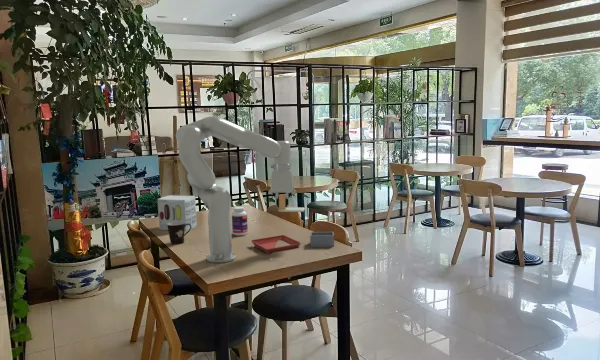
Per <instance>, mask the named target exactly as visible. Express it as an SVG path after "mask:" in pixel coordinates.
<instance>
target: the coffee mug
mask: <svg viewBox="0 0 600 360" xmlns="http://www.w3.org/2000/svg"><path fill="white" fill-rule="evenodd" d="M186 225H190V224H185V222H171V223H168V224H167V226H168V230H167V231H168V236H169V240H170V245H173V246H175V245H177V246H178V245H182V244H184V243H185V236H186V235H187V234H189V232H191V230H192V229H191V225H190V229H189V230H188V231H185V226H186Z"/></svg>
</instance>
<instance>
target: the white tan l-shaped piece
mask: <svg viewBox="0 0 600 360" xmlns="http://www.w3.org/2000/svg"><path fill="white" fill-rule="evenodd" d="M285 199H286V193H284V194H280V193H279V207H278V212H282V213H283V212H285V213H292V212H293V213H304V212H305V209H306V208H305V207H303V206H302V207H300V206H299V207H298V206H297V207H294V206H292V207H291V206H290V207H288V206H287V207H285Z"/></svg>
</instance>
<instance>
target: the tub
mask: <svg viewBox="0 0 600 360" xmlns="http://www.w3.org/2000/svg"><path fill="white" fill-rule="evenodd" d="M309 236H310V237H309V239H310V241H309V243H310V248H315V247H316V248H320V247H321V248H326V247H329V248H330V247H333V248H335V233H334V231H310V235H309Z"/></svg>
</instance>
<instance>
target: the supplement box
mask: <svg viewBox="0 0 600 360" xmlns="http://www.w3.org/2000/svg"><path fill="white" fill-rule="evenodd" d="M196 206H197V204H196V195H166V196H163V197H160V198H157V211H158V228H159V231H168V226H167V224H168V223H171V222H185V224H190V225H191V230H192V229H194V228H196V227H197V226H198V224H197V210H196V209H197V207H196ZM190 225H186V226H185V232H188V231H189V229H190Z"/></svg>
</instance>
